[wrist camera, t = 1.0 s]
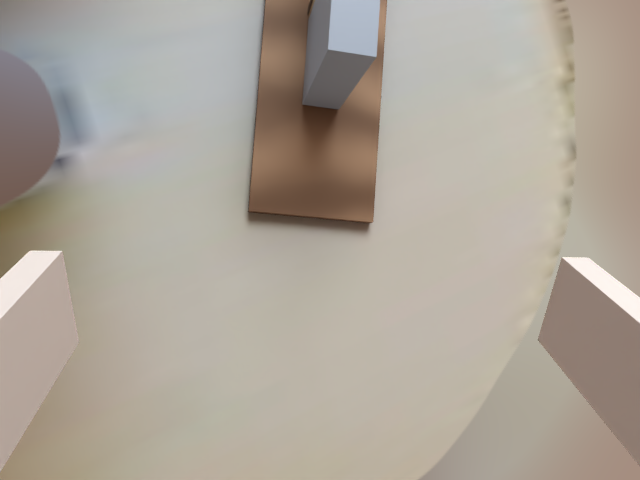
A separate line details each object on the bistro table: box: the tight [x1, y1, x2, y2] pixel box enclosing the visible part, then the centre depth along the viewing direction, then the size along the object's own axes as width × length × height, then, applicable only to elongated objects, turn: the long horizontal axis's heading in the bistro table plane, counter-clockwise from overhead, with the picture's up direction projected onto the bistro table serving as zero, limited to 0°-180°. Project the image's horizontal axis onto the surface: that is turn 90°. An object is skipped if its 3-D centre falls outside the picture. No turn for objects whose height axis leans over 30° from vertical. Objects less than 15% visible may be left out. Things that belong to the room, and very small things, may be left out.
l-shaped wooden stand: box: [248, 0, 387, 223], centre depth 35 cm, size 29×10×11 cm, turn 176°
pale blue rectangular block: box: [302, 0, 380, 109], centre depth 34 cm, size 7×3×10 cm, turn 176°
